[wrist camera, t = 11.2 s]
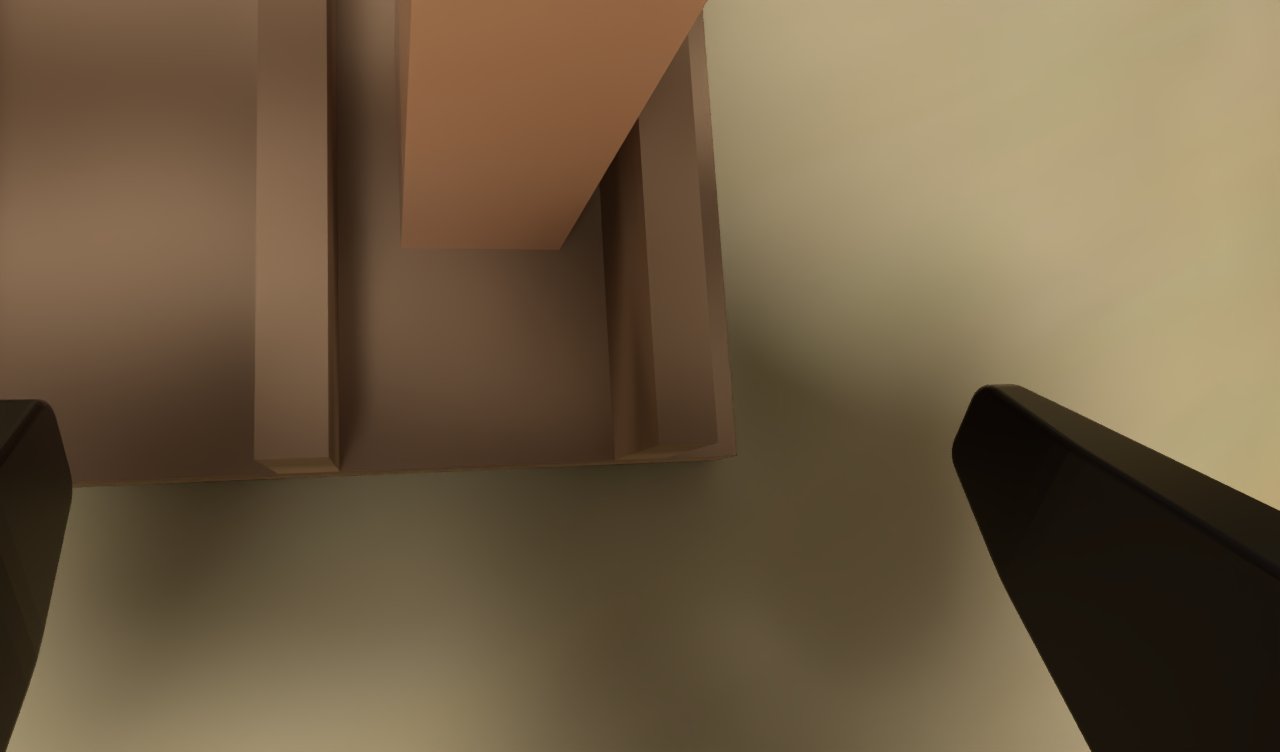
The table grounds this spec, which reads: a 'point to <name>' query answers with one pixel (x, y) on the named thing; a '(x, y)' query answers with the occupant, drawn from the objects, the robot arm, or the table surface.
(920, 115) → the table surface
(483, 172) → the clay slab
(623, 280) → the slotted wooden tray
